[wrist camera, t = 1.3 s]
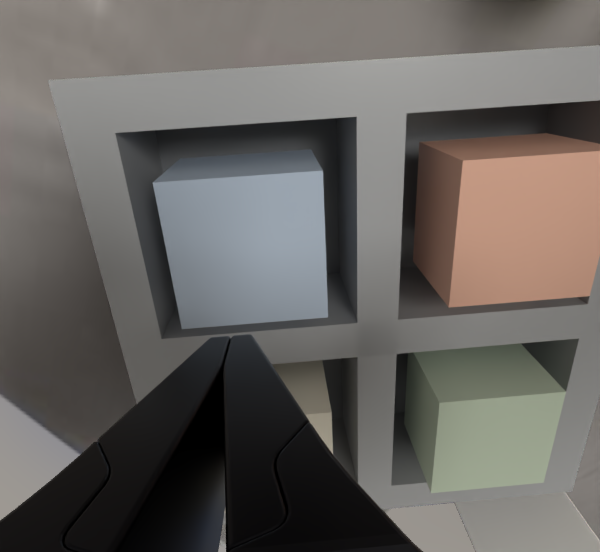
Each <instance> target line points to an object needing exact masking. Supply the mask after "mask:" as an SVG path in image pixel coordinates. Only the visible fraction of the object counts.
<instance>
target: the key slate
mask: <svg viewBox="0 0 600 552" xmlns="http://www.w3.org/2000/svg"><path fill="white" fill-rule="evenodd" d="M153 187H154V192H155V197H156V202H157V207H158V212H159V217H160V222H161V227H162V232H163V237H164V242H165V247H166V252H167V257H168V262H169V267H170V272H171V277H172V282H173V287H174V292H175V297H176V302H177V307H178V312H179V317H180V322H181V327H182V329H191V328H203V327H216V326H228V325H240V324H253V323H265V322H277V321H290V320H302V319H314V318H327V317H328V298H327V270H326V243H325V215H324V187H323V170H322V168H321V166H320V164H319V163H318V161H317V159H316V157H315V156H314V154H313V152H312V150H311V149H310V150H296V151H282V152H267V153H253V154H238V155H224V156H210V157H195V158H181V159H179V160H178V161H177V162H176V163H174V164H173V165H172V166H171V167H170V168H169V169H168V170H166V171H165V172H164V173H163V174H162V175H161V176H160V177H159V178H157V179H156V180H155V181H154V182H153Z"/></svg>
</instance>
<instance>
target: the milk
mask: <svg viewBox="0 0 600 552" xmlns="http://www.w3.org/2000/svg"><path fill="white" fill-rule="evenodd" d="M455 505H456V508H457V510H458V512H459V515H460V517H461V519H462V522H463V524H464V526H465V529H466V531H467V533H468V536H469V538H470V540H471V543H472V545H473V547H474V549H475V552H600V540H599V539H598V538H597V536H596V535H595V533H594V532H593V531H592V529H591V528H590V526H589V525H588V523H587V522H586V521H585V519H584V518H583V516H582V515H581V514H580V512H579V511H578V509H577V508H576V507H575V505H574V504H573V502H572V501H571V500H570V498H569V497H568V495H567V494H566V492H560V493H550V494H539V495H529V496H518V497H508V498H497V499H487V500H476V501H466V502H455Z"/></svg>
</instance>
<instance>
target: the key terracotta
mask: <svg viewBox="0 0 600 552" xmlns="http://www.w3.org/2000/svg"><path fill="white" fill-rule="evenodd" d="M599 257H600V144H598V143H593V142H588V141H583V140H578V139H573V138H568V137H563V136H558V135H553V134H548V133H541V134H527V135H512V136H498V137H483V138H469V139H455V140H440V141H426V142H419V158H418V177H417V195H416V214H415V232H414V251H413V262H414V263H415V265H416V266H417V267H418V268H419V270H420V271H421V272H422V274H423V275H424V276H425V277H426V279H427V280H428V281H429V283H430V284H431V285H432V287H433V288H434V289H435V290H436V292H437V293H438V294H439V296H440V297H441V298H442V299H443V301H444V302H445V303H446V305H447V306H448V307H449V308H450V307H462V306H474V305H487V304H499V303H511V302H524V301H536V300H548V299H561V298H573V297H585V296H590V293H591V289H592V285H593V281H594V277H595V273H596V269H597V265H598V261H599Z"/></svg>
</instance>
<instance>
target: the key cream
mask: <svg viewBox="0 0 600 552" xmlns="http://www.w3.org/2000/svg"><path fill="white" fill-rule="evenodd" d="M272 365H273V367H274V368H275V370H276V371H277V373H278V374H279V376H280V377H281V379H282V380H283V382H284V384H285V385H286V387H287V388H288V390H289V391H290V393H291V394H292V396H293V397H294V399H295V400H296V402H297V403H298V405H299V406H300V408H301V409H302V411H303V412H304V414H305V415H306V417H307V418H308V420H309V421H310V423H311V424H312V425H313V427H314V428H315V430H316V431H317V433H318V434H319V436H320V437H321V439H322V440H323V441H324V443H325V444H326V445H327V447H328V448H329V450H330V451H331V452H332V454H333V437H332V412H331V406H330V401H329V395H328V389H327V384H326V378H325V373H324V367H323V362H322V360H317V361H305V362H293V363H282V364H272ZM224 513H226V512H224Z"/></svg>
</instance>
